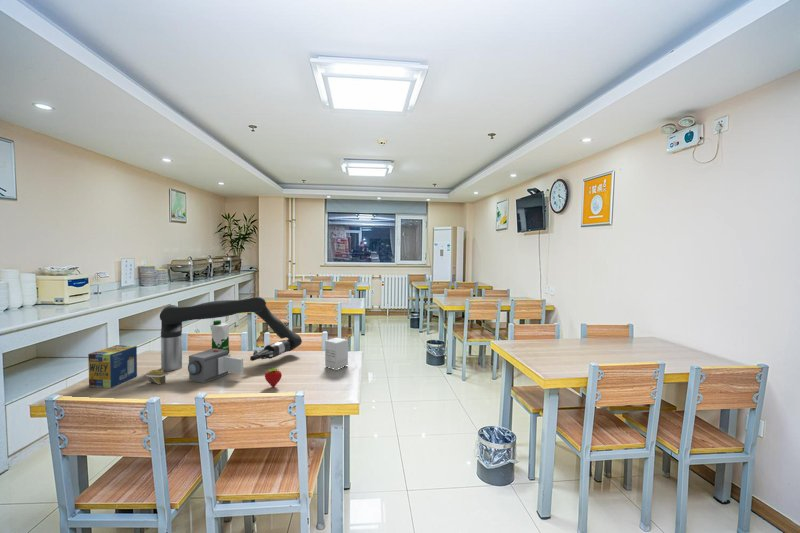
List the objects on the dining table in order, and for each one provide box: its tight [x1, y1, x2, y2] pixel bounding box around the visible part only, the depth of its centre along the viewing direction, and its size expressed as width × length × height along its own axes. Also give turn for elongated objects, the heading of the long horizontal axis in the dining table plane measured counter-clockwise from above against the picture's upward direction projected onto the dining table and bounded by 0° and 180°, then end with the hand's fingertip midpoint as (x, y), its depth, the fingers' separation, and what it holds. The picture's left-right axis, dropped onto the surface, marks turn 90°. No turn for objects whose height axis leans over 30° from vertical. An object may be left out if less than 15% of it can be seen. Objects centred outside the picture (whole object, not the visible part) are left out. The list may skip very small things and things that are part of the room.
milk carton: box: [209, 319, 231, 353], centre depth 210 cm, size 9×9×20 cm
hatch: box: [218, 353, 244, 375], centre depth 170 cm, size 7×12×8 cm, turn 70°
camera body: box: [187, 348, 230, 384], centre depth 170 cm, size 16×10×13 cm, turn 160°
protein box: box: [87, 344, 138, 389], centre depth 163 cm, size 10×15×16 cm
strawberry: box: [264, 367, 283, 388], centre depth 160 cm, size 6×8×10 cm
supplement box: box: [324, 337, 349, 369], centre depth 188 cm, size 9×9×15 cm
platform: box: [145, 369, 169, 385], centre depth 162 cm, size 12×18×7 cm, turn 87°
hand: (251, 358), depth 178 cm, fingers closed
